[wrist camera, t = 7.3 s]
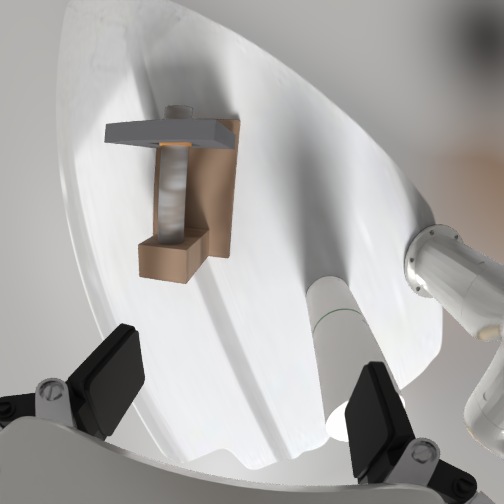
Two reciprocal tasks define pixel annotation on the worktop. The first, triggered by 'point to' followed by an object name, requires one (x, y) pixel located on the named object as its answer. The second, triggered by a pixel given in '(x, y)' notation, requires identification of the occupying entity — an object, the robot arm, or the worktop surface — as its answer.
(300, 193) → the worktop surface
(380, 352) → the cylindrical container
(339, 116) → the worktop surface
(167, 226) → the pipe mount
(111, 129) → the dark grey square plate
